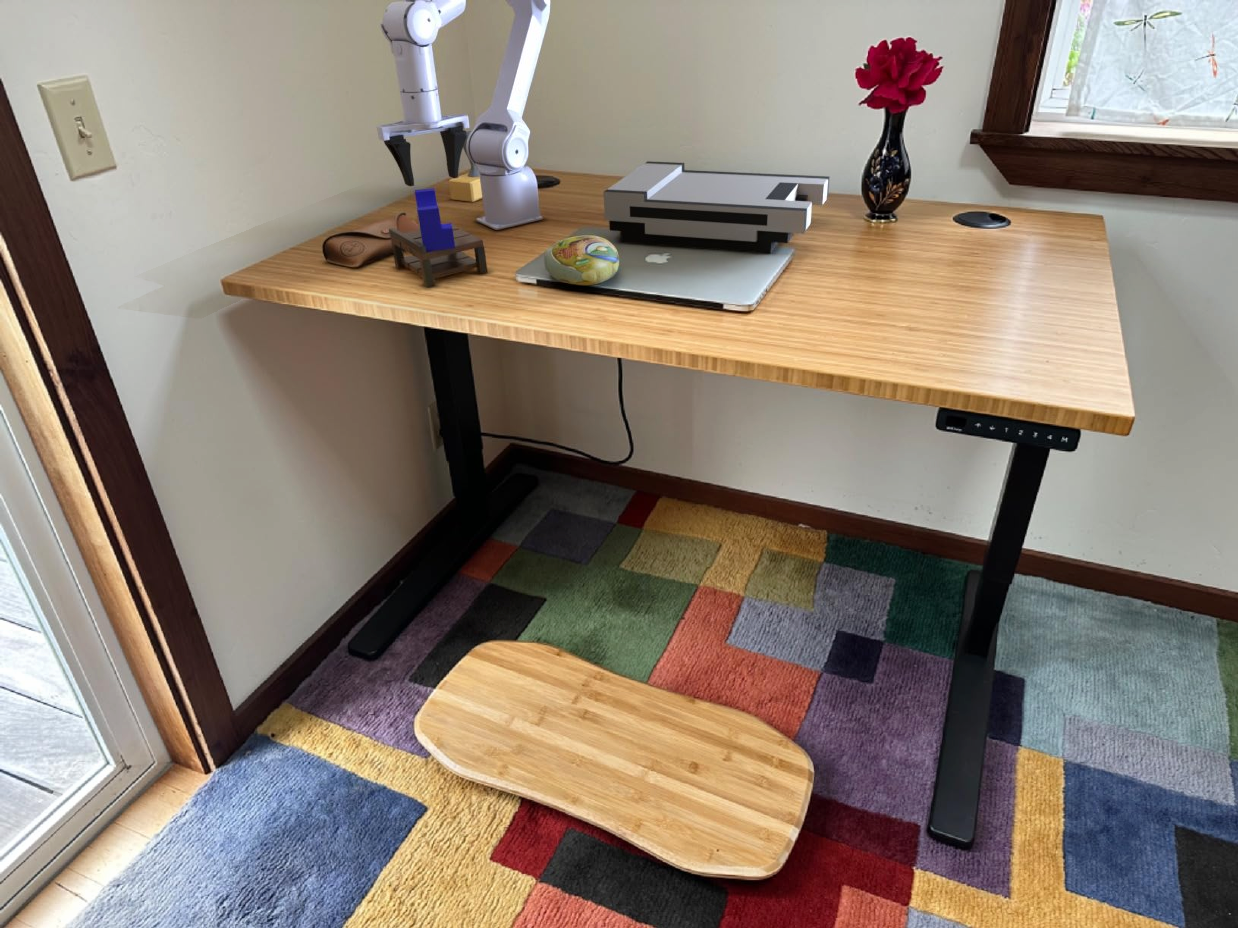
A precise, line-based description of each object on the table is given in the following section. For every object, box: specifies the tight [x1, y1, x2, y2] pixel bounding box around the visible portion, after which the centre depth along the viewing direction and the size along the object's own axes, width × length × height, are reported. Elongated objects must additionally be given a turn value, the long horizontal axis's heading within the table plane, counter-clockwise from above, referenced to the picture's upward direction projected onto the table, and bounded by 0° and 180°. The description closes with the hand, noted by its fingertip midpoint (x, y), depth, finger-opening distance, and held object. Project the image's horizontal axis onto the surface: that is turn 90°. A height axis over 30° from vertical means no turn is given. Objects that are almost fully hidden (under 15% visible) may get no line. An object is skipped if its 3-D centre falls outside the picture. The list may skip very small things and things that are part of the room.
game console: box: [603, 160, 831, 254], centre depth 142 cm, size 21×32×8 cm, turn 69°
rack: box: [389, 223, 488, 288], centre depth 132 cm, size 10×12×6 cm
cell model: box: [543, 234, 620, 286], centre depth 126 cm, size 11×8×15 cm
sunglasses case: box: [321, 212, 420, 268], centre depth 143 cm, size 18×7×7 cm
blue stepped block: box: [414, 187, 455, 252], centre depth 129 cm, size 12×4×6 cm, turn 13°
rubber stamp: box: [448, 130, 482, 203], centre depth 168 cm, size 10×6×12 cm, turn 150°
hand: (431, 181), depth 139 cm, fingers open, 7 cm apart
